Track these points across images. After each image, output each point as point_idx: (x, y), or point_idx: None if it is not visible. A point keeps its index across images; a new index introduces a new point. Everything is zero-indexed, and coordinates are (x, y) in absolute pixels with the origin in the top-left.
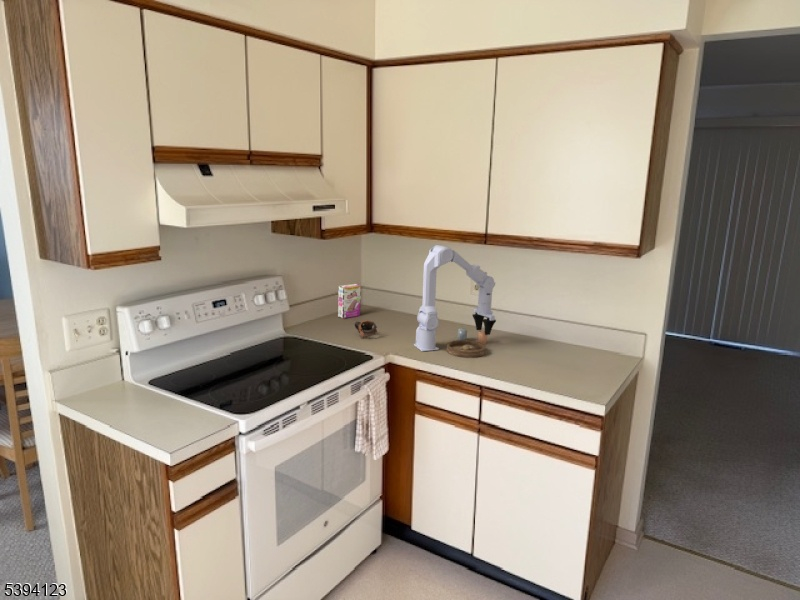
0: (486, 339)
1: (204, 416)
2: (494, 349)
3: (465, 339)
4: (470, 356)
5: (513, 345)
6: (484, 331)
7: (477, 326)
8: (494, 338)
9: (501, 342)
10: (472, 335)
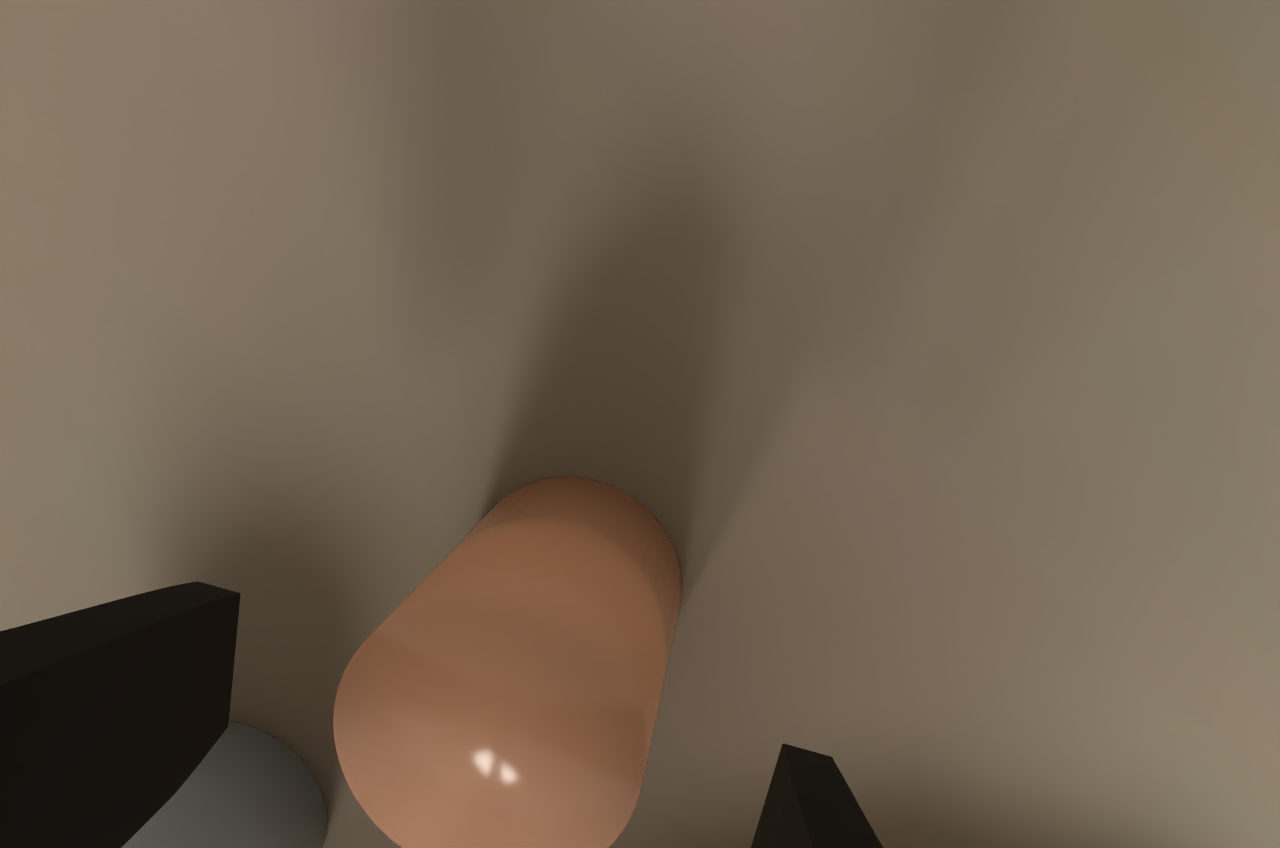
0: (668, 610)
1: None
2: (1140, 724)
3: (301, 830)
4: None
5: (1249, 10)
6: (468, 675)
7: (123, 815)
8: (433, 42)
9: (817, 134)
10: (22, 380)
